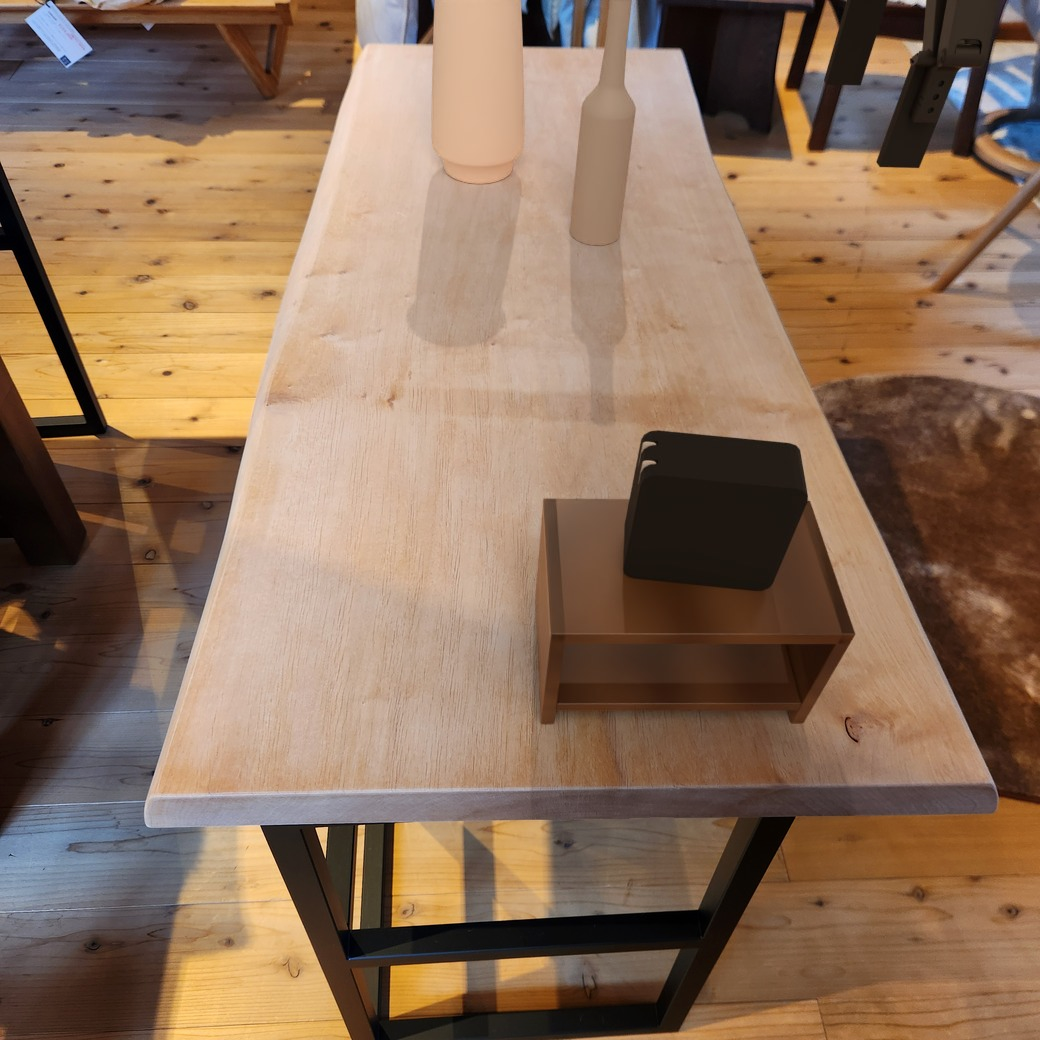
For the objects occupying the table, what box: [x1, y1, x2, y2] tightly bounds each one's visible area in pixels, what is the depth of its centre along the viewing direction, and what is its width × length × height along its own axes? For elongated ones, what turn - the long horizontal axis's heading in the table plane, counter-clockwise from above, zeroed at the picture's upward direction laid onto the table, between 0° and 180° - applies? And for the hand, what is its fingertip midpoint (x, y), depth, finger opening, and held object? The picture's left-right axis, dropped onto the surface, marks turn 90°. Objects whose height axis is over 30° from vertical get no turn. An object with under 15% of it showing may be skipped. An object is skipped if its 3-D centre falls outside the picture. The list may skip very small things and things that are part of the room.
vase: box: [430, 0, 526, 185], centre depth 112 cm, size 13×13×28 cm
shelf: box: [535, 497, 856, 725], centre depth 63 cm, size 20×12×12 cm, turn 91°
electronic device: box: [623, 429, 809, 591], centre depth 55 cm, size 4×10×10 cm, turn 84°
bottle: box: [569, 0, 637, 246], centre depth 101 cm, size 7×7×28 cm
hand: (867, 121), depth 62 cm, fingers open, 13 cm apart
